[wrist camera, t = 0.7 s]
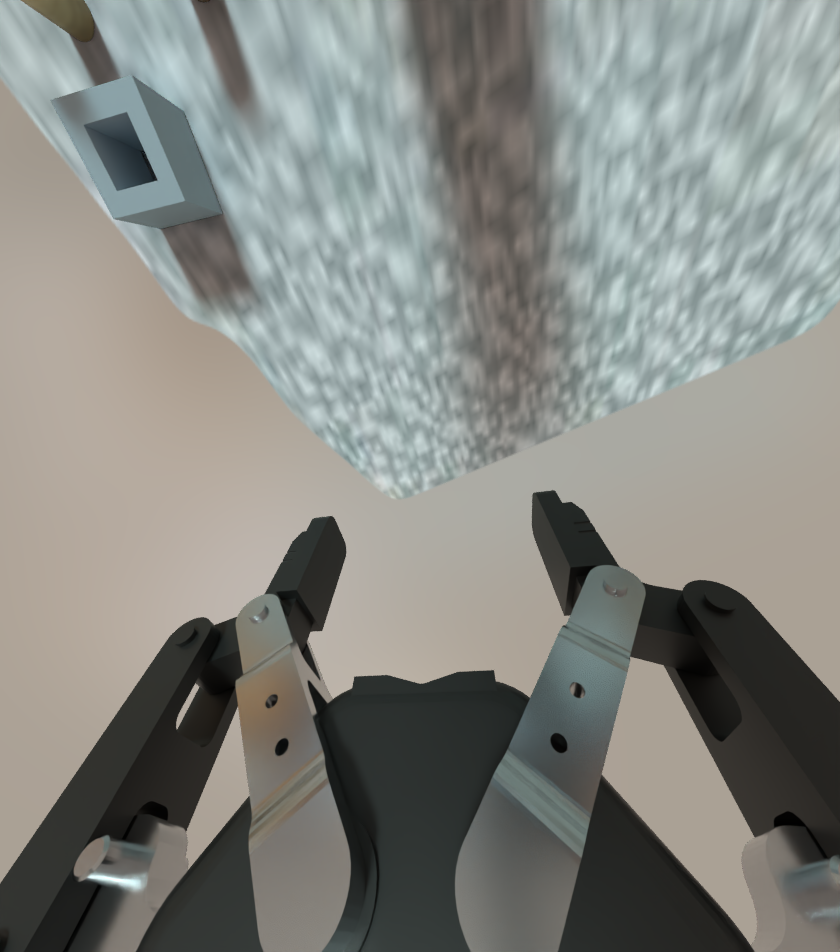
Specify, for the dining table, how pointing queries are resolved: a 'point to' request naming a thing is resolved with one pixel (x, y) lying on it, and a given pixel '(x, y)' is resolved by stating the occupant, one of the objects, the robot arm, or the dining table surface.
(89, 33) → the long dowel
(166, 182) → the hole block
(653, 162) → the dining table surface
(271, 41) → the dining table surface
